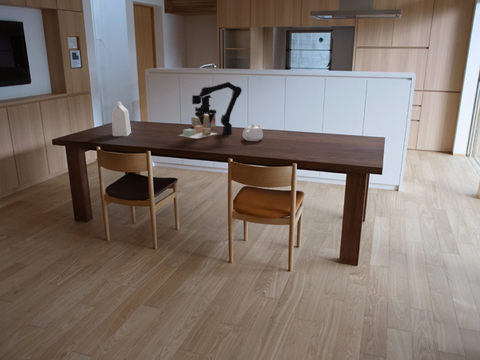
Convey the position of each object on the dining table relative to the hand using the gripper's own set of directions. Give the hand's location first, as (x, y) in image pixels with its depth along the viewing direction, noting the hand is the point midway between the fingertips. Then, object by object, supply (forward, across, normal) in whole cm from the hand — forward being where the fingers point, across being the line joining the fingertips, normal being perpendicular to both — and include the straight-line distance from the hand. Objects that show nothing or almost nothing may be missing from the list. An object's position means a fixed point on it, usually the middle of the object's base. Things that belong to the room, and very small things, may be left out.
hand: (206, 123), depth 326 cm
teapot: (+10, -11, +38) cm, 41 cm away
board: (+9, +3, -6) cm, 12 cm away
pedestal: (+9, +8, -11) cm, 16 cm away
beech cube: (+9, 0, 0) cm, 9 cm away
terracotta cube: (+9, -4, -12) cm, 15 cm away
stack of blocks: (+10, -21, -22) cm, 32 cm away
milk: (+9, +38, -57) cm, 69 cm away
